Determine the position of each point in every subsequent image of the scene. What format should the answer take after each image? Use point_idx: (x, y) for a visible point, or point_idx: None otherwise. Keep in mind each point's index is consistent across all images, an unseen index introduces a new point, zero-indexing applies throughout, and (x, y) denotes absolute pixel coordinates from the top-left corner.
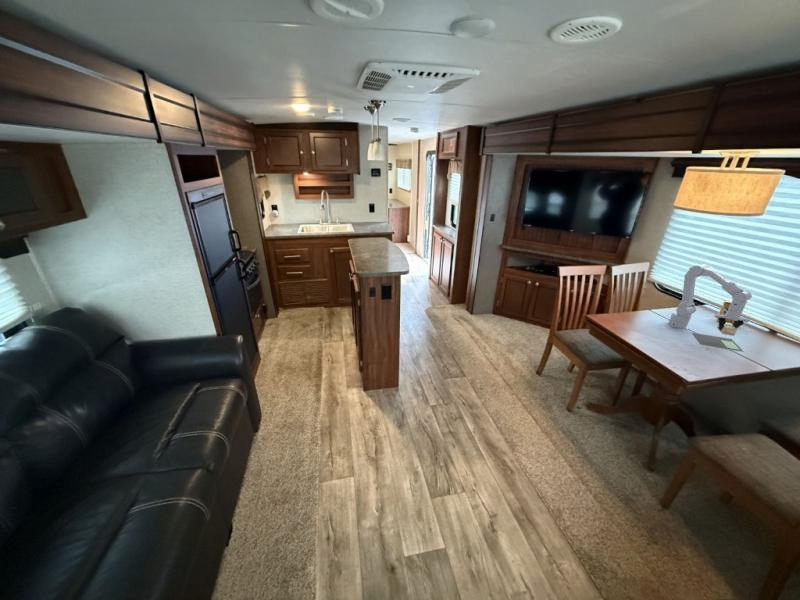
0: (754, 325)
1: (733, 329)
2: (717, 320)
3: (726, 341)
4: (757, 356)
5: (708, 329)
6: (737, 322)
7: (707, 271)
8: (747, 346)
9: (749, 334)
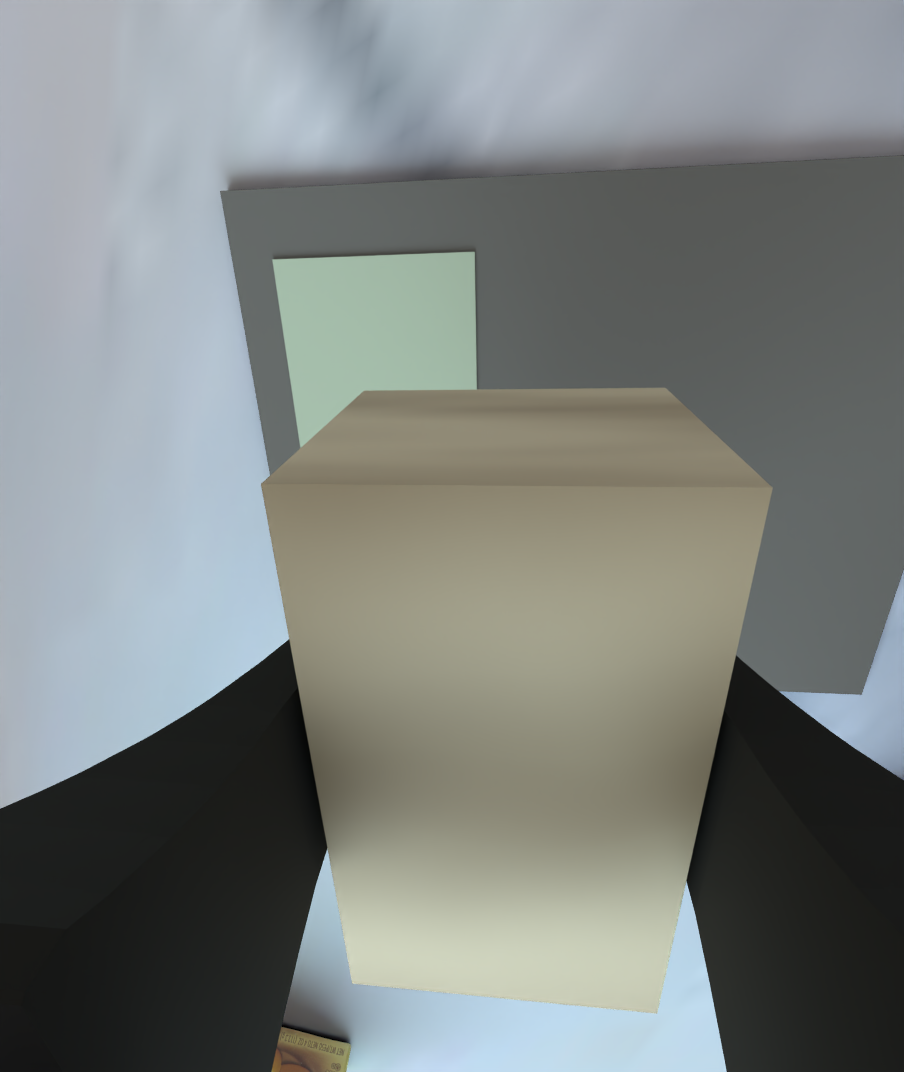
0: None
1: (413, 471)
2: (342, 1053)
3: None
4: (25, 105)
5: None
6: (142, 1017)
7: None
8: (141, 507)
9: None
